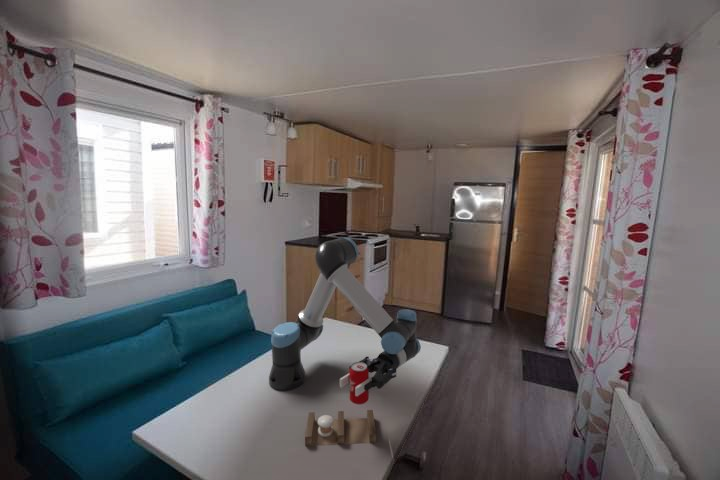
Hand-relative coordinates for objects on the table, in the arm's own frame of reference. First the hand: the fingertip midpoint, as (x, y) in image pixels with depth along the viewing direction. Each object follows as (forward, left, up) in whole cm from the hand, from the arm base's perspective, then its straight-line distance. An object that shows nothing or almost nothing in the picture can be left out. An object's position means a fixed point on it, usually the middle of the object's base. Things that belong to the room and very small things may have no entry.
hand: (348, 387), depth 98 cm
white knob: (-8, +2, -17) cm, 19 cm away
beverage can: (+4, +4, -7) cm, 9 cm away
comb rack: (-3, +2, -18) cm, 18 cm away
